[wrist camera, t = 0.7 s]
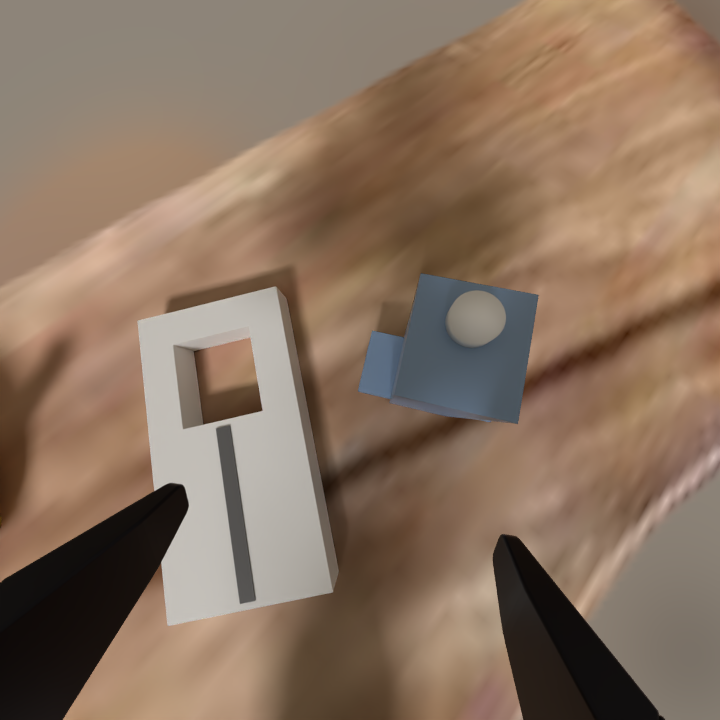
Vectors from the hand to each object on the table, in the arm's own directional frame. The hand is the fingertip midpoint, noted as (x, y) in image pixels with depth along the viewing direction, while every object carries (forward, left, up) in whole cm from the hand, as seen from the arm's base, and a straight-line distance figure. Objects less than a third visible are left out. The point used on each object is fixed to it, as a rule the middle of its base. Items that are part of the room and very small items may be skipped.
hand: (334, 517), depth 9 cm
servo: (+7, -1, -14) cm, 16 cm away
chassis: (-5, +8, -14) cm, 17 cm away
